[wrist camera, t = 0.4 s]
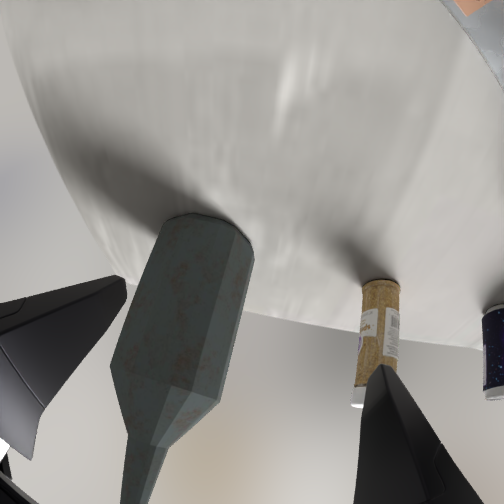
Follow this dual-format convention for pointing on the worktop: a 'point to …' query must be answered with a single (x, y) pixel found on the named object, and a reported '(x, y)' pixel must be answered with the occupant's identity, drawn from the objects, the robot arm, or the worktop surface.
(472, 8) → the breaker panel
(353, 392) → the sprinkles bottle
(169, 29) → the worktop surface
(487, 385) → the beverage can
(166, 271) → the bottle
